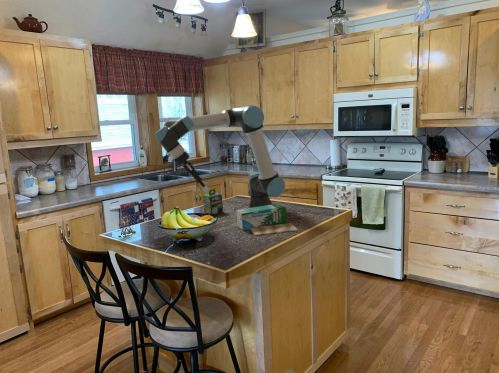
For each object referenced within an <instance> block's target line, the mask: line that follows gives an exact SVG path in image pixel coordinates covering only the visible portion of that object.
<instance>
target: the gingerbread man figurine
mask: <svg viewBox="0 0 499 373" xmlns="http://www.w3.org/2000/svg"><path fill="white" fill-rule="evenodd" d="M124 214H125V215H124ZM120 216H121V220H119V222H118V227H119V228H122V230H121V232H120V234H121V235H122V234H123V235H126V234H130V233H134V232H136V230H133V229H132V228H131V226H130V225H129V222H130V221H131V220H132V218H133V217H132V215H131V214H128V213H127V212H122V213H121V215H120ZM128 219H129V220H128ZM127 227H128V228H127ZM136 233H137V232H136ZM134 234H135V233H134Z"/></svg>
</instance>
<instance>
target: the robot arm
mask: <svg viewBox="0 0 499 373" xmlns="http://www.w3.org/2000/svg"><path fill="white" fill-rule="evenodd" d="M264 120H265V114H264V112H263V110H262V109H261V108H260V107H259V106H256V105H252V104H250V105H243V106H237V107H232V108H230V109H229V108H228V109H226V110H222V112H218V113H217V112H216V113H210V114H205V115H204V114H203V115H197V116H191V117H190V116H189V115H183V116H181V117H180V118H177V119H168V120H166V121H165V122H164V124H163V126H162V127H161V128H159V129H158V130H157V131H155V132H154V137H155V139H156V140H157V141H158V143H159V144H160V145H161V146H162V148H164V150H165V152H166V153H167V156H168V157H170V158H171V159H172V160H173V161H174V162H175V164H176V165H177V166H181V165H183V166H182V167H183V169H185V170H186V171H187V173H189V174H190V175H191V176H192V178H193V179H194V181H196V185H199V187H200V188H201V189H202V191H203V192H204V193H205V194H208V193H209V190H211V189H210V188H209V187H208V185H207V184H206V182H205V181H204V180H203V178H202V177H201V176H200V175H199V174H198V173H197V171H196V170H195V168H194V165H193V164H192V163H191V162H190V161H188V160H189V158H190V155H189V154H188V152H187V151H186V150H185V148H184V147H183V146H182V144H181V143H180V142H179V140H180V139H181V138H183V137H184V136H185V135H187V134H188V133H189V132H197V131H203V130H207V129H208V130H209V129H214V128H220V127H225V128H241V129H242V132H243V134H244V135H246V136H247V139H248V142H249V146H250V148H251V151H252V153H253V157H254V160H255V163H256V167H257V169H258V172H254V173H250V174H249V175H248V183H249V184H248V186H249V201H248V202H249V203H248V206H247V208H253V207H260V206H266V205H273V204H272V201H271V198H278V197H280V196H281V195H282V194H283V193H284V191H285V190H286V189H285V188H286V182H285V180H284V179H283V178H281V177H280V176H279V172H278V170H276V169H275V168H274V165H273V162H272V159H271V155H270V152H269V149H268V146H267V143H266V139H265V136H264V133H263V129H264Z"/></svg>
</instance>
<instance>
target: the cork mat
mask: <svg viewBox="0 0 499 373" xmlns="http://www.w3.org/2000/svg"><path fill="white" fill-rule="evenodd" d="M296 231H297V232H298V231H299V230H298V228H297V227H296V226H295V225H293V224H292V223H291V222H290V223H284V224H279V225H271V226H262V227H255V228H251V229H250V232H252V234H253V236H254V237H256V236H265V235H274V234H280V233H281V234H282V232H283V233H289V232H296Z"/></svg>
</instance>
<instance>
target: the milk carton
mask: <svg viewBox="0 0 499 373" xmlns="http://www.w3.org/2000/svg"><path fill="white" fill-rule="evenodd" d="M235 210H236V213H235V214H236V223H237V224H236V225H237V228H240V230H241V231H247V230H251V228H255V227H262V226H271V225H279V224H288V223H287V208H286V206H283V205H280V204H277V203H274V204H272V205H266V206H260V207H253V208H248V207H247V208H246V207H245V208H241V209H235Z"/></svg>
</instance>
